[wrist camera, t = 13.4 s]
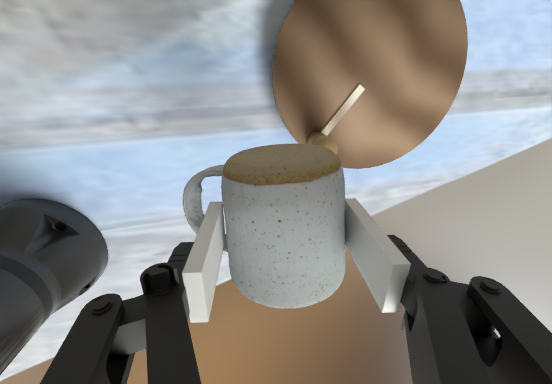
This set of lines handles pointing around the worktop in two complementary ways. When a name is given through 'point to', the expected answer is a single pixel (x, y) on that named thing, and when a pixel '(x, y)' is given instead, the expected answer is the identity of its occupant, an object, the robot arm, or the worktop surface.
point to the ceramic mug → (280, 222)
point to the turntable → (368, 74)
